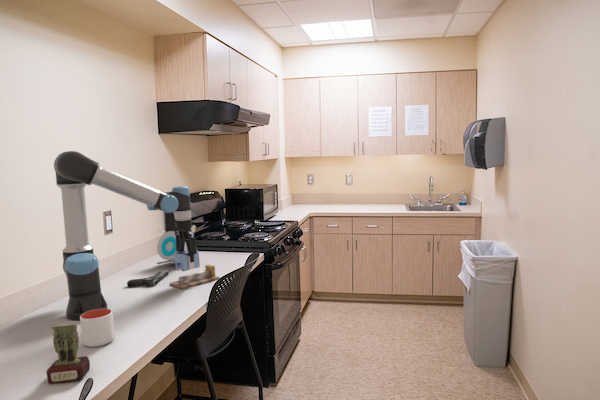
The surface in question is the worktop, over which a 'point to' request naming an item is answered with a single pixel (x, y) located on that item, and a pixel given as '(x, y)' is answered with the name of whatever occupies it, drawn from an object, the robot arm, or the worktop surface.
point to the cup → (97, 327)
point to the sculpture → (67, 356)
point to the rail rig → (196, 278)
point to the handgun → (147, 280)
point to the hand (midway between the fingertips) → (187, 267)
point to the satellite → (169, 246)
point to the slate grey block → (185, 260)
